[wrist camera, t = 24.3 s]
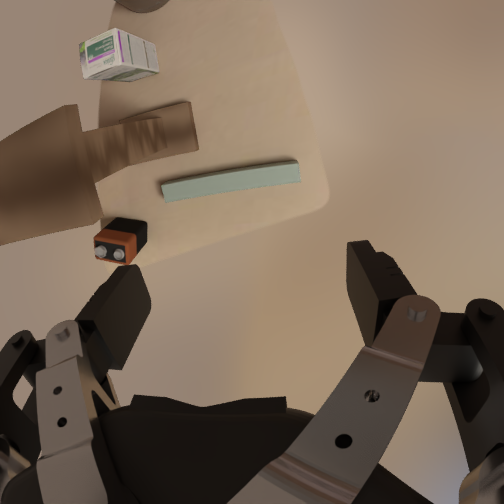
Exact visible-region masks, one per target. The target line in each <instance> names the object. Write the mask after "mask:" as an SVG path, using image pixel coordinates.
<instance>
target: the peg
mask: <svg viewBox="0 0 504 504" xmlns="http://www.w3.org/2000/svg"><path fill="white" fill-rule="evenodd" d="M298 182H301V179H300V170H299V163H298V161H297V160H296V161H288V162H280V163H272V164H265V165H257V166H251V167H244V168H238V169H231V170H225V171H219V172H214V173H208V174H202V175H197V176H192V177H187V178H182V179H177V180H172V181H167V182H165V183H164V184H163V185H161V187H162V191H163V195H164V199H165V203H167V202H173V201H178V200H183V199H189V198H195V197H201V196H207V195H213V194H219V193H225V192H231V191H238V190H245V189H252V188H259V187H266V186H274V185H281V184H289V183H298Z"/></svg>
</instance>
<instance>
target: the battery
mask: <svg viewBox="0 0 504 504" xmlns="http://www.w3.org/2000/svg"><path fill="white" fill-rule="evenodd" d="M146 243H147V223H146V222H143V221H137V220H131V219H124V218H115V219H114V220H113V221H112V222H110V223H109V224H108V225H107V226H106V227H105V228H104V229H102V230H101V231H100V232H99V233H98V234H97V235H96V236H95V237H94V248H95V257H96V258H97V259H100V260H104V261H109V262H114V263H119V264H124V265H129V264H130V263H131V262H132V260H133V259H134V258H135V256H136V255H137V254H138V253H139V251H140V250H141V249H142V248H143V246H144V245H145V244H146Z"/></svg>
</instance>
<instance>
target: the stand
mask: <svg viewBox="0 0 504 504" xmlns="http://www.w3.org/2000/svg"><path fill="white" fill-rule="evenodd" d="M119 122H120V124H119V125H114V126H109V127H104V128H99V129H95V130H91V131H86V132H82V127H81V122H80V117H79V111H78V106H77V104H74V105H64V106H62V107H60V108H58V109H56V110H54V111H52V112H50V113H48V114H46V115H44V116H42V117H41V118H39V119H37V120H35V121H33V122H32V123H30V124H28V125H26V126H24V127H23V128H21V129H20V130H18V131H16V132H14V133H13V134H11V135H9V136H8V137H6V138H5V139H3V140H2V141H0V246H1V245H5V244H8V243H12V242H16V241H21V240H25V239H29V238H33V237H37V236H41V235H46V234H50V233H55V232H59V231H64V230H68V229H73V228H78V227H83V226H88V225H93V224H94V223H96V222H97V221H98V220H99V219H101V218H102V217H103V216H104V214H103V211H102V208H101V204H100V201H99V198H98V194H97V190H96V187H95V183H96V182H98V181H100V180H102V179H104V178H105V177H107V176H109V175H111V174H113V173H115V172H117V171H119V170H121V169H123V168H125V167H127V166H130V165H134V164H138V163H143V162H147V161H151V160H155V159H160V158H164V157H169V156H174V155H179V154H184V153H189V152H194V151H197V150H199V146H198V140H197V135H196V129H195V124H194V118H193V113H192V107H191V102H185V103H181V104H177V105H173V106H169V107H165V108H161V109H157V110H153V111H150V112H146V113H143V114H139V115H136V116H133V117H129V118H126V119H123V120H120V121H119Z"/></svg>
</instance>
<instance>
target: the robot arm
mask: <svg viewBox="0 0 504 504" xmlns="http://www.w3.org/2000/svg"><path fill="white" fill-rule="evenodd" d="M115 1H116V2H118V3H120V4H122V5H123V6H125V7H127V8H129V9H130V10H132V11H134V12H137V13H148V12H152V11H154V10H157V9H159V8H160V7H162V6H163V5H165V4H166V3H167V2H168V1H169V0H115ZM346 273H347V274H346V282H347V291H348V296H349V298H350V301H351V304H352V307H353V310H354V313H355V316H356V318H357V321H358V325H359V327H360V331H361V333H362V337H363V340H364V343H365V346H364V347H363V348H362V349H361V351H360V352H359V354H358V355H357V357H356V358H355V360H354V361H353V363H352V364H351V366H350V367H349V369H348V370H347V372H346V373H345V375H344V376H343V378H342V379H341V381H340V382H339V383H338V385H337V386H336V388H335V389H334V391H333V392H332V393H331V395H330V396H329V398H328V399H327V400H326V402H325V403H324V404H323V406H322V407H321V408H320V410H319V411H318V412H317V413H316V415H314V414H311V413H308V412H305V411H301V410H297V409H292V408H287V402H286V397H285V396H284V397H270V398H248V399H241V400H236V401H232V402H227V403H222V404H218V405H213V406H207V407H198V406H194V405H191V404H187V403H184V402H181V401H177V400H174V399H170V398H167V397H155V396H144V395H134V396H133V398H132V401H131V404H130V405H128V406H124V407H121V406H120V404H119V401H118V398H117V395H116V393H115V390H114V387H113V384H112V381H111V378H110V376H109V375H108V373H107V372H108V370H109V369H115V370H122V368H123V366H124V364H125V362H126V360H127V358H128V356H129V354H130V352H131V350H132V348H133V345H134V343H135V341H136V339H137V337H138V335H139V333H140V331H141V329H142V327H143V325H144V323H145V321H146V319H147V317H148V315H149V313H150V310H151V298H150V295H149V292H148V290H147V287H146V284H145V282H144V279H143V276H142V273H141V271H140V268H139V267H138V266H137V265H136V264H133V265H124V266H118V267H117V268H116V270H115V271H114V272H113V273H112V275H111V276H110V277H109V279H108V280H107V281H106V282H105V283H103V284H102V285H101V286H100V287H99V288H98V289H97V291H96V292H95V293H94V295H93V296H92V297H91V298H90V300H89V302H87V304H86V305H85V306H84V308H83V309H82V310H81V312H80V313H79V314H78V316H77V317H76V318H75V320H66V321H63V322H60V323H58V324H57V325H55V326H54V327H53V328H52V329H51V330H50V331H49V332H48V334H47V336H46V339H43V340H38V341H36V340H35V338H34V337H33V335H32V334H31V332H30V331H28V330H23V331H20V332H18V333H16V334H15V335H13V336H12V337H11V338H10V339H9V340H8V342H7V343H6V344H5V346H4V347H3V349H2V350H1V352H0V504H433V503H432V502H431V501H429V500H428V499H426V498H425V497H423V496H422V495H421V494H419V493H418V492H416V491H415V490H414V489H412V488H411V487H409V486H408V485H407V484H405V483H404V482H402V481H401V480H400V479H399V478H397V477H396V476H395V475H393V474H392V473H391V472H389V471H388V470H387V469H385V468H384V467H383V466H381V465H380V464H379V463H378V462H379V460H380V459H381V457H382V455H383V454H384V452H385V450H386V448H387V446H388V444H389V443H390V441H391V439H392V437H393V435H394V433H395V431H396V429H397V427H398V425H399V423H400V421H401V419H402V417H403V415H404V413H405V411H406V409H407V406H408V404H409V402H410V400H411V397H412V395H413V392H414V390H415V388H416V386H417V383H418V381H419V382H421V381H422V382H443V385H444V387H445V390H446V393H447V396H448V399H449V401H450V404H451V407H452V410H453V413H454V416H455V420H456V423H457V426H458V430H459V433H460V436H461V440H462V443H463V447H464V451H465V455H466V459H467V463H468V467H469V471H470V473H468V474H467V476H466V477H465V478H464V480H463V481H462V484H461V486H460V489H459V504H504V310H503V308H502V307H501V306H500V305H498V304H497V303H495V302H493V301H491V300H488V299H474V300H472V301H470V302H469V303H468V305H467V306H466V310H465V313H446V312H441V311H440V308H439V306H438V305H437V304H436V303H435V302H434V301H433V300H431V299H429V298H427V297H424V296H420V295H417V293H416V292H415V290H414V289H413V287H412V286H411V284H410V283H409V281H408V280H407V278H406V277H405V275H404V274H403V272H402V271H401V269H400V268H398V265H397V264H396V262H395V261H394V259H393V258H392V257H390V256H389V255H387V254H386V253H384V252H375V250H374V249H373V247H372V246H371V244H370V243H369V241H368V240H363V241H353V242H348V243H347V271H346ZM22 375H23V376H24V377H25V378H26V380H27V381H28V382H29V383H30V385H31V386H32V387H33V390H32V392H31V394H30V396H29V398H28V399H27V402H26V404H25V405H24V407H23V409H22V410H21V409H20V408H19V407H18V406H17V405H16V404H15V402H14V400H13V390H14V388H15V387H16V384H17V383H18V381H19V379H20V378H21V376H22ZM41 450H42V456H41V458H39V459H38V457H39V454H40V451H41ZM37 459H38V461H37Z"/></svg>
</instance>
